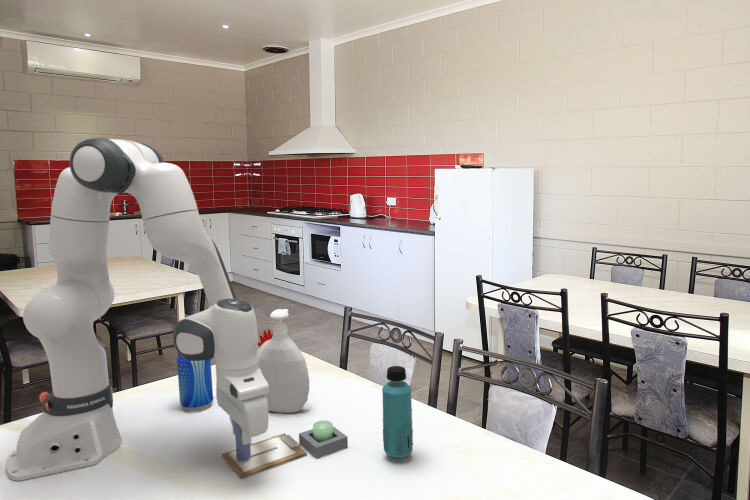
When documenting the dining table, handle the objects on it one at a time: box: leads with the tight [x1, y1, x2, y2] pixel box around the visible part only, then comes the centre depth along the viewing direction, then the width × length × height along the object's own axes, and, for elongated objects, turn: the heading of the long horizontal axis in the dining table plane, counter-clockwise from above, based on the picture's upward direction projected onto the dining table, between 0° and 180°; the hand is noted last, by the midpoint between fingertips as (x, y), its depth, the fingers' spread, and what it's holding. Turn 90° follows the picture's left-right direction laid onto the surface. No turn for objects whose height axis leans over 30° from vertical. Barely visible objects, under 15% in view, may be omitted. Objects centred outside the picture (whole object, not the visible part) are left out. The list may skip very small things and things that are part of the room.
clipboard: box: [221, 433, 308, 479], centre depth 116 cm, size 15×11×1 cm
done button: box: [312, 420, 334, 443], centre depth 119 cm, size 4×4×4 cm
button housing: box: [298, 426, 349, 459], centre depth 120 cm, size 8×8×2 cm
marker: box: [234, 421, 251, 460], centre depth 112 cm, size 3×3×10 cm
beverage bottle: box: [381, 365, 414, 458], centre depth 113 cm, size 6×7×20 cm
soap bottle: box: [259, 308, 310, 414], centre depth 137 cm, size 14×8×27 cm, turn 79°
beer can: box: [176, 354, 214, 413], centre depth 141 cm, size 8×8×16 cm
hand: (242, 438), depth 112 cm, fingers closed on marker, 3 cm apart
